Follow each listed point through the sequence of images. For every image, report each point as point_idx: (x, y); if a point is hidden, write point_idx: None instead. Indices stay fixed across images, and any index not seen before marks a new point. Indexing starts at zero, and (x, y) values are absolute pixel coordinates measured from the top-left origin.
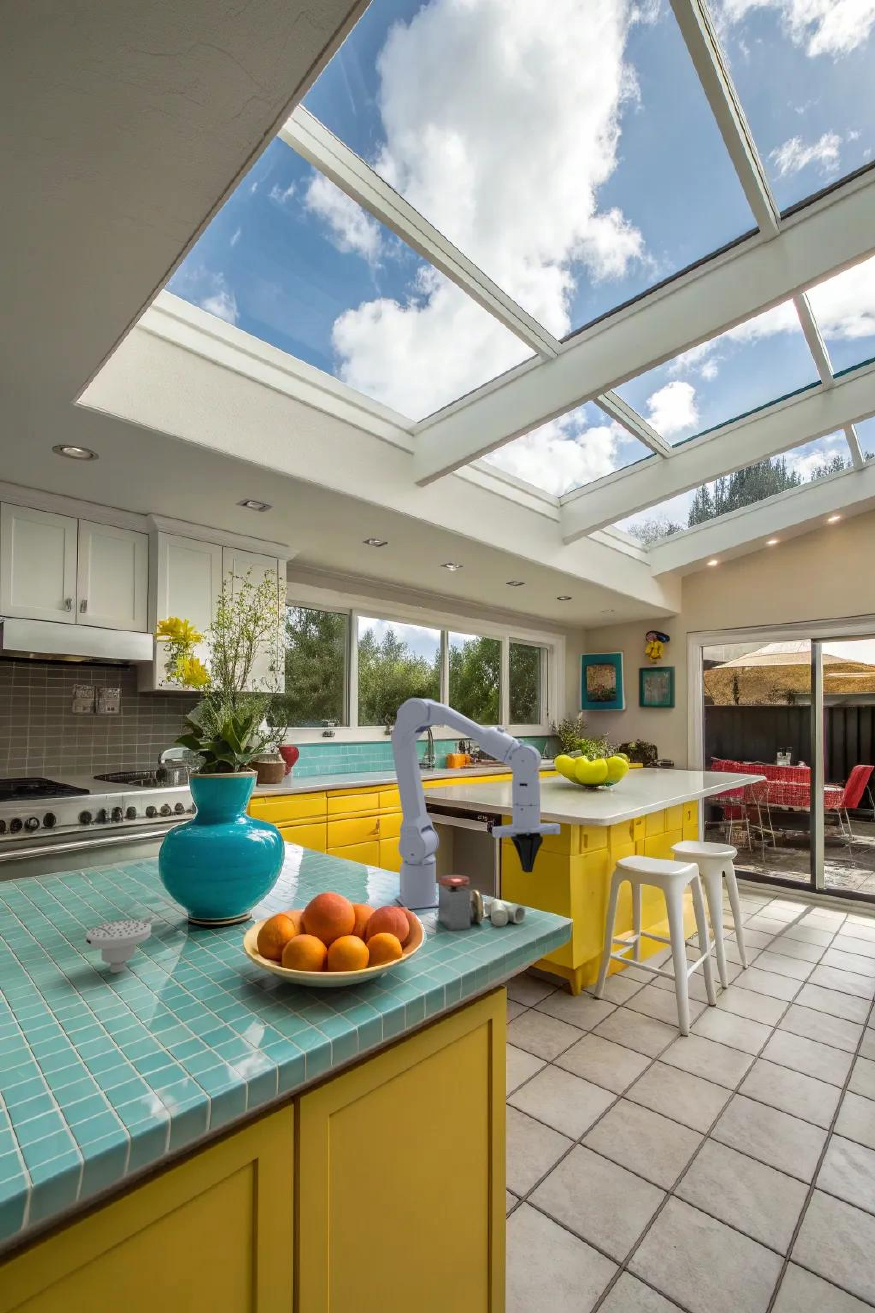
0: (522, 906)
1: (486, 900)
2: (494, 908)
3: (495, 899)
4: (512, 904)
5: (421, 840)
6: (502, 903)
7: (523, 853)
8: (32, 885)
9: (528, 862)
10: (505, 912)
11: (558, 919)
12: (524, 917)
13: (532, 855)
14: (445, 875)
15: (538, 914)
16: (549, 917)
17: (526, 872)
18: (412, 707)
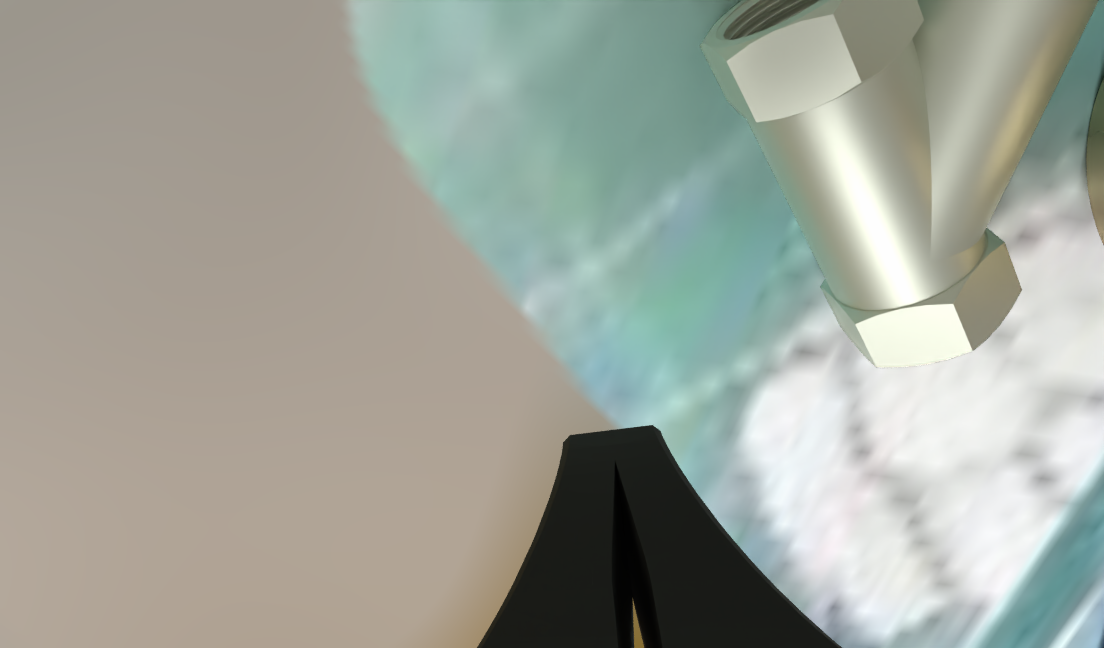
0: (764, 35)
1: (1002, 318)
2: (1059, 66)
3: (943, 287)
4: (873, 69)
5: None
6: (927, 170)
7: (799, 616)
8: None
9: (654, 503)
10: None
11: (363, 50)
12: (714, 27)
13: (589, 592)
14: None
15: (502, 220)
16: (430, 123)
17: (656, 428)
18: None
